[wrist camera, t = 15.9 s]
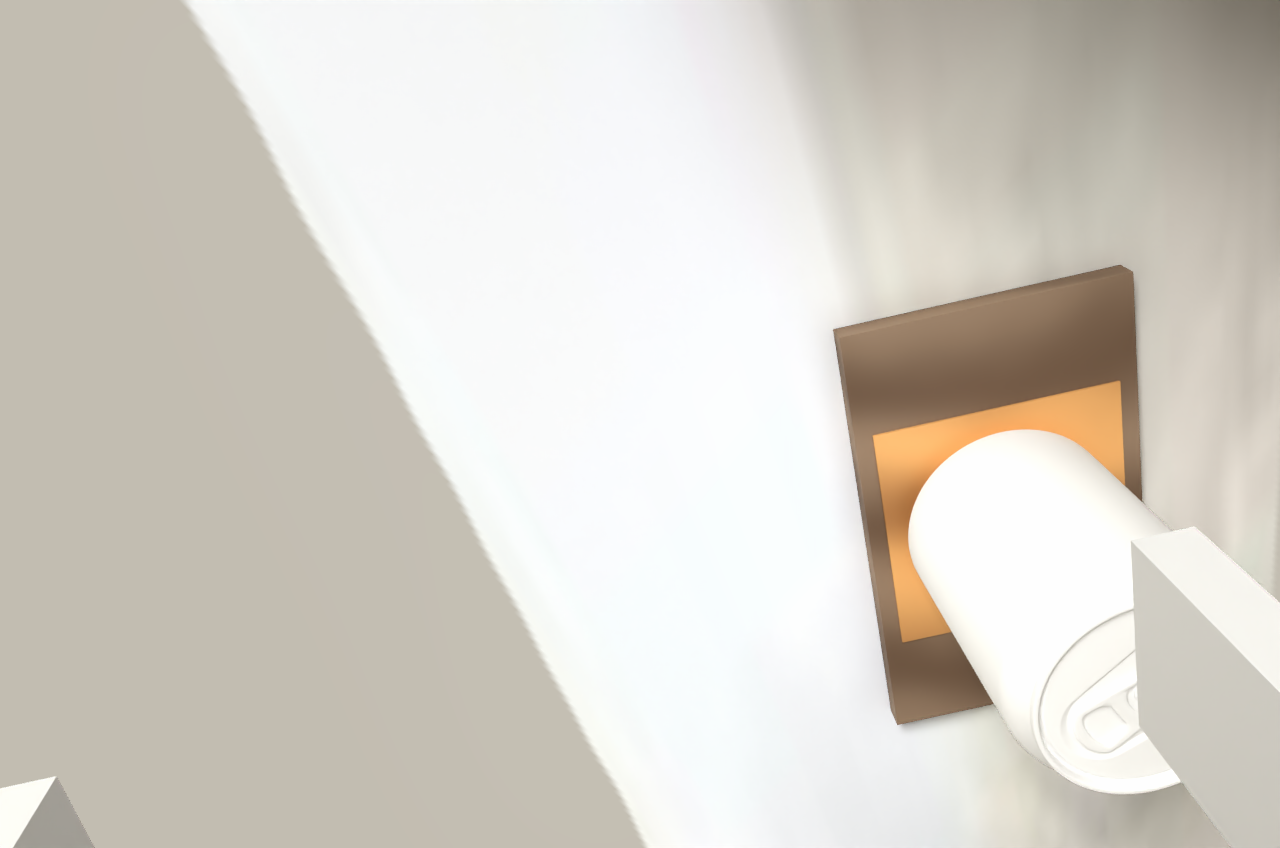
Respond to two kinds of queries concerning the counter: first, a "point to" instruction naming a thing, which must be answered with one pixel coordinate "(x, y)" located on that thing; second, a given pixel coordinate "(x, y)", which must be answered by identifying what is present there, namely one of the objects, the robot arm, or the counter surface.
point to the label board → (975, 434)
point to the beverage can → (1044, 598)
